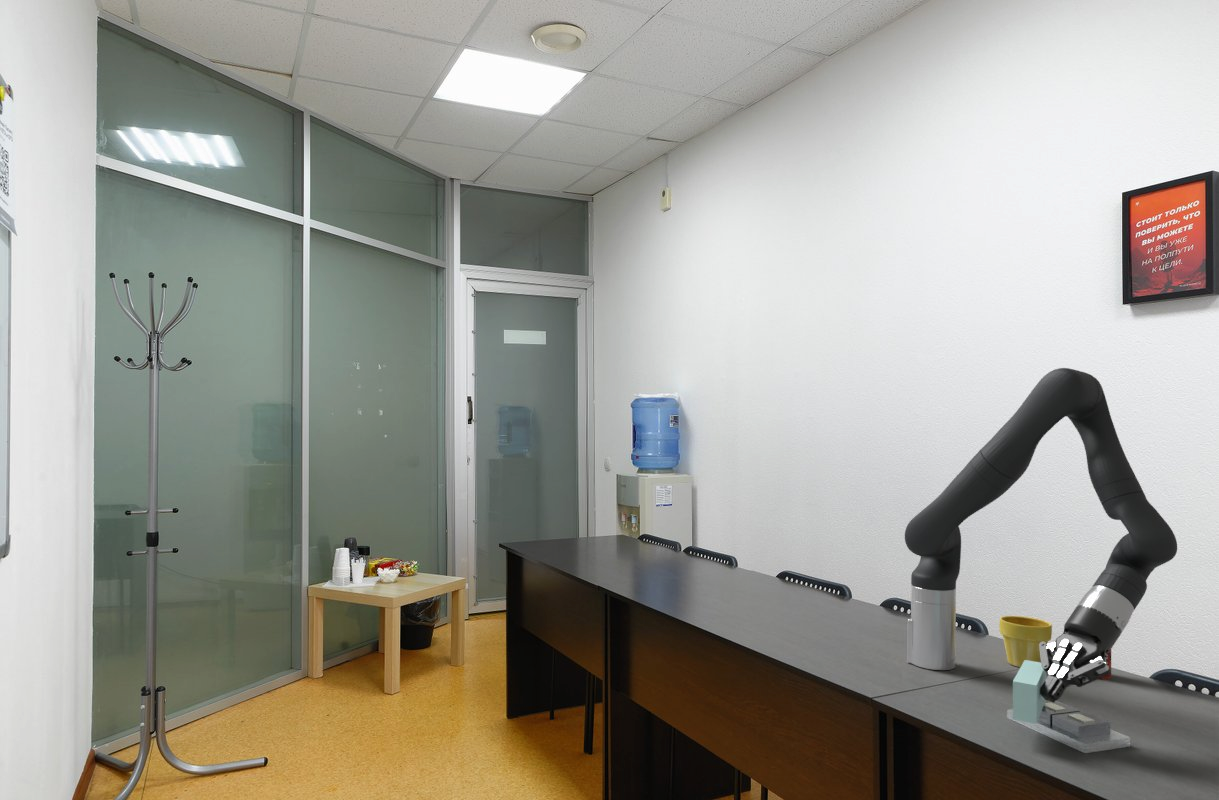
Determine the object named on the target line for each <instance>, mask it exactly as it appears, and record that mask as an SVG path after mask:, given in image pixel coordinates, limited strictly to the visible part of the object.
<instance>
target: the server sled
mask: <svg viewBox="0 0 1219 800" xmlns="http://www.w3.org/2000/svg"><path fill="white" fill-rule="evenodd" d="M1006 711H1007V712H1006V718H1007V719H1009V720H1010V721H1013V722H1015V723H1017V724H1020V725H1022V726H1024V727H1026V728H1027V729H1028V728H1029V729H1030V730H1033V731H1036V732H1037V733H1040V734H1041V735H1043V736H1046V737H1048V738H1051V739H1052V740H1055V741H1057V742H1059V743H1060V744H1061V743H1062V744H1064V745H1066V746H1068V747H1070V748H1072V749H1075V750H1076V751H1079V752H1081V753H1083V754H1089V753H1096V752H1101V751H1102V752H1103V751H1111V750H1116V749H1121V748H1122V749H1123V748H1130V747H1131V736H1128V735H1125V734H1124V733H1122V732H1118V731H1115V730H1113V729H1111V721H1109V720H1106V719H1103V718H1101V717H1099V716H1097V715H1096V716H1095V714H1091V713H1088V712H1086V711H1083V710H1081V709H1079V708H1076V707H1074V706H1071V705H1069V704H1067V703H1064V702H1061V701H1059V700H1056V701H1055V702H1054V703H1053V702H1050V701H1047V700H1046V701H1045V704H1044V706H1043V709H1042V711H1041V714H1040V716H1039V719H1038V721H1037V724H1033V723H1028V722H1023V721H1019V720H1014V719H1013V708H1010V709H1006Z"/></svg>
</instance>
